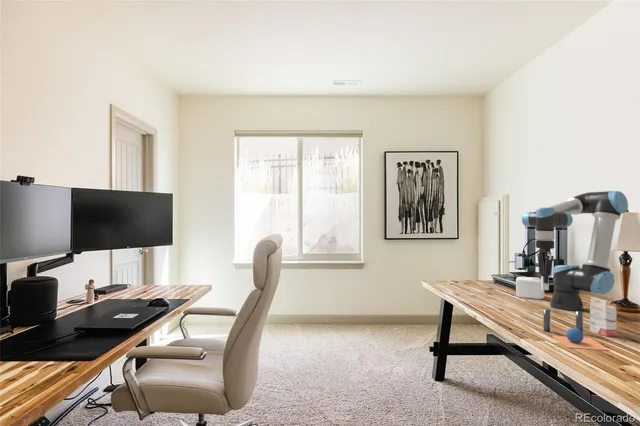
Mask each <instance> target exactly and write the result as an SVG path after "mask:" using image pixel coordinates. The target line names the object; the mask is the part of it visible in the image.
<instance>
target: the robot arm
mask: <svg viewBox="0 0 640 426" xmlns="http://www.w3.org/2000/svg"><path fill="white" fill-rule="evenodd" d="M628 209H629V202H628V199H627V196H626V195H625V194H624V192H622V191H619V190H608V191H595V192H594V191H590V192H585V193H581V194H578V195H575V196H572V197H570V198H567V199H566V200H565V201H564V202H561V203H558V204H554V205H551V206H549V207H537V208H536V210H535V211H534V212H532V211H529V212H524V213H523V214H522V215H521V223H522V225H523V226H525V227H530V228H535V233H534V235H535V239H536V240H535V248H536V249H539V252H538V253H537V254H536V256H537V262H538V263H537V264H538V274H540V277H541V278H540V279H541V290H544V291H549V290H550V288H549V287H550V284H549V283H550V280H549V278H550V276H551V277H552V268H553V261H554V255H552V251H551V249H552V250H553V249H555V228H561V229H564V228H568V227H570V226H572V223H573V215H575V216H576V215H579V214H592V216H593V217H594V222H593V227H592V233H591V237H590V243H589V249H588V252H587V260H586V261H585V262H584V263H582V265H581V268H580V265H579V264H569V265H568V264H565V265H563V264H560V265H559V264H558V265H555V266H554V268H553V294H552V296H551V299H550V301H549V306H550V307H552V308H554V309H558V310H565V311H574V312H576V311H581V312H582V311H583V310H585V309H584V304H583V300H582V297H581V294H580V292H586V293H592V294H594V295H595V294H597V295H606V294H608V293H610V292H611V291H612V289H613V288H614V285H615V276H614V274H613V273H612V272H611V268H610V267H609V266H608V264H609V259H610V254H611V248H612V243H613V236H614V231H615V227H616V221H617V220H619V219H621V214H625V213H627V211H628Z"/></svg>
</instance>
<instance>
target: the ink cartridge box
mask: <svg viewBox="0 0 640 426" xmlns="http://www.w3.org/2000/svg"><path fill="white" fill-rule="evenodd" d="M617 329H618V327H617V307H615V306H610V305H607V300H605V299H602V298H598V297H593V296H591V297H590V303H589V331H590V332H592V333H595V334H599V335H601V336H603V337H617V336H618V335H617V333H618V332H617Z"/></svg>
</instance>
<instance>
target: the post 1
mask: <svg viewBox="0 0 640 426" xmlns="http://www.w3.org/2000/svg"><path fill="white" fill-rule="evenodd" d="M543 332H545V333H550V332H551V310H550V309H547V308H546V309H545V308H544V309H543Z"/></svg>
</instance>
